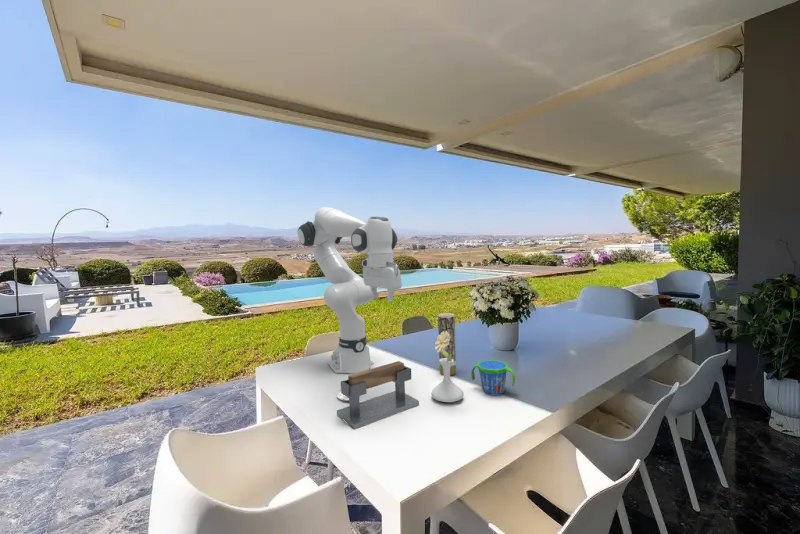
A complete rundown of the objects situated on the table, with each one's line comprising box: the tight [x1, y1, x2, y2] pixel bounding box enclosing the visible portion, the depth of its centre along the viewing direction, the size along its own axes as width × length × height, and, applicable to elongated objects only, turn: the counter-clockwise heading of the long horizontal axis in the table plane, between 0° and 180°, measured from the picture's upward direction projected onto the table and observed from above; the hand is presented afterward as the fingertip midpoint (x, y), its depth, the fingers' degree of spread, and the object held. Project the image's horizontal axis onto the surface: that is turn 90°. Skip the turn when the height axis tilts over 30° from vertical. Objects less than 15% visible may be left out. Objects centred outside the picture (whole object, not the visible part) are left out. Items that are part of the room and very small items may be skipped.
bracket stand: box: [336, 365, 420, 430], centre depth 121 cm, size 12×25×12 cm, turn 126°
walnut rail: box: [347, 360, 405, 390], centre depth 121 cm, size 3×20×5 cm, turn 126°
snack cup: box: [470, 359, 516, 396], centre depth 132 cm, size 16×10×10 cm
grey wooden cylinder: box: [437, 312, 457, 377], centre depth 151 cm, size 7×7×25 cm
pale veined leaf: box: [336, 390, 349, 402], centre depth 132 cm, size 8×12×2 cm, turn 26°
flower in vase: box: [430, 331, 464, 403], centre depth 126 cm, size 13×11×25 cm
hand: (382, 299), depth 131 cm, fingers open, 8 cm apart
